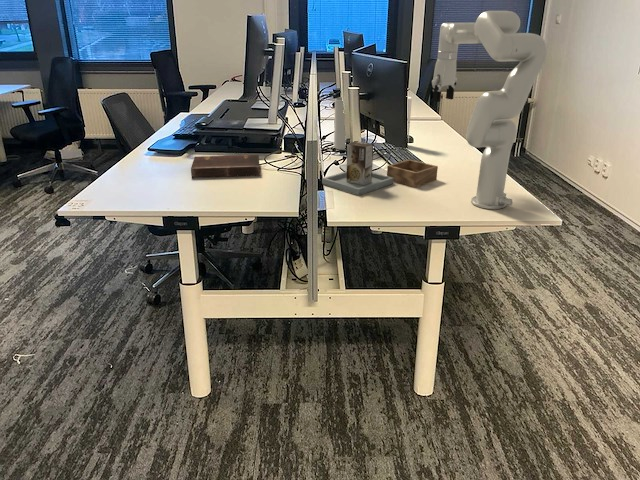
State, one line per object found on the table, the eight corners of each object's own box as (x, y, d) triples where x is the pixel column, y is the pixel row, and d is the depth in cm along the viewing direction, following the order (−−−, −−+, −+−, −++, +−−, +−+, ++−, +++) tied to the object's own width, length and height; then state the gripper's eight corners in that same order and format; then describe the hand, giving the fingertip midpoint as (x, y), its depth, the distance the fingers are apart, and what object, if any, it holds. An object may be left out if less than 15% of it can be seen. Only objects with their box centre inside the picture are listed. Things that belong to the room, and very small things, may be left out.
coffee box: (372, 182, 216) (374, 143, 210) (364, 185, 211) (366, 146, 205) (353, 178, 221) (354, 140, 214) (345, 181, 216) (346, 143, 210)
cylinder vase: (356, 151, 266) (358, 101, 256) (332, 150, 268) (333, 100, 258) (359, 145, 277) (360, 97, 267) (335, 144, 279) (336, 96, 269)
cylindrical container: (407, 147, 274) (411, 98, 264) (394, 146, 275) (397, 98, 265) (408, 144, 280) (412, 96, 270) (395, 143, 282) (398, 96, 272)
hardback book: (191, 179, 222) (190, 168, 220) (195, 167, 239) (194, 156, 237) (260, 177, 226) (259, 166, 224) (259, 165, 243) (258, 154, 241)
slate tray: (393, 183, 217) (393, 177, 216) (358, 195, 203) (358, 189, 202) (357, 173, 230) (357, 168, 229) (322, 184, 216) (322, 178, 215)
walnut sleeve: (436, 179, 222) (437, 166, 220) (415, 187, 212) (416, 173, 210) (407, 172, 232) (408, 159, 229) (386, 179, 222) (387, 165, 220)
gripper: (451, 54, 215) (446, 97, 222) (426, 56, 204) (423, 101, 211) (467, 55, 211) (462, 99, 217) (443, 58, 199) (438, 103, 206)
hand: (442, 100), depth 214 cm, fingers open, 9 cm apart
